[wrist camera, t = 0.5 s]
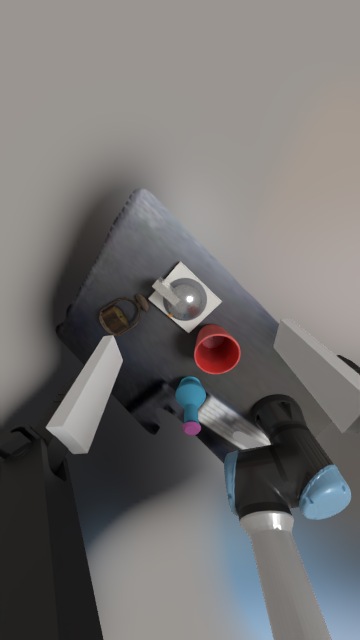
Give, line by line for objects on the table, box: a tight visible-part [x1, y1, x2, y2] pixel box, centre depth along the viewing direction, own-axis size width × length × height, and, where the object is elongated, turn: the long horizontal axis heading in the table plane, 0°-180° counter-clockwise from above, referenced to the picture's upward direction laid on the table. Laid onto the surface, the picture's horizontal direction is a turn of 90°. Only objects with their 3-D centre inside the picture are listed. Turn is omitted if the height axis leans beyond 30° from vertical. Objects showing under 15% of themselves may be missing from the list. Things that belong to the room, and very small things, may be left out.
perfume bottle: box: [175, 377, 206, 435], centre depth 45 cm, size 9×9×15 cm
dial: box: [152, 277, 203, 319], centre depth 36 cm, size 12×8×7 cm
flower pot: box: [194, 324, 240, 374], centre depth 41 cm, size 11×11×10 cm
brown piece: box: [99, 294, 149, 336], centre depth 41 cm, size 7×13×10 cm
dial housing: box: [149, 261, 222, 333], centre depth 41 cm, size 14×12×2 cm
